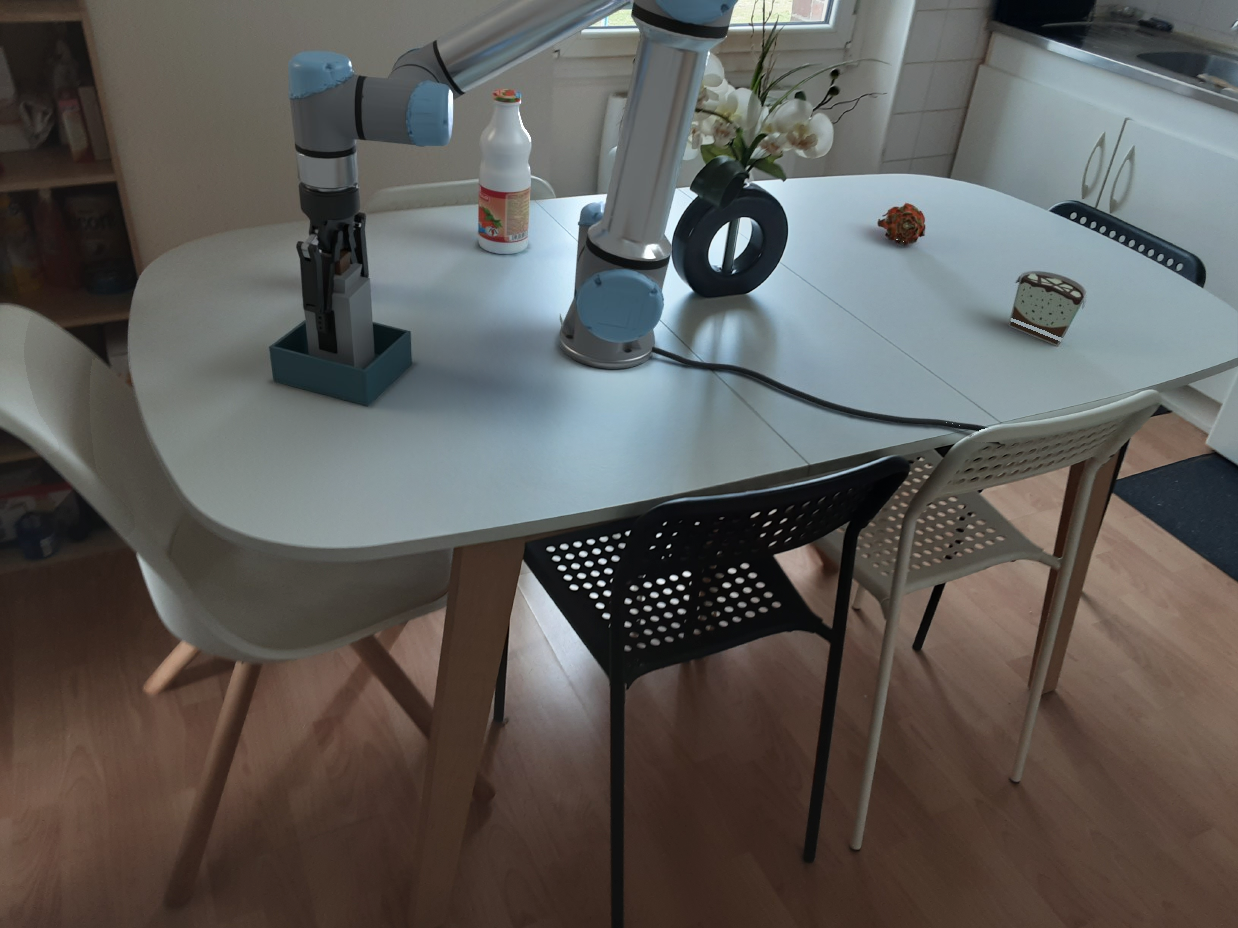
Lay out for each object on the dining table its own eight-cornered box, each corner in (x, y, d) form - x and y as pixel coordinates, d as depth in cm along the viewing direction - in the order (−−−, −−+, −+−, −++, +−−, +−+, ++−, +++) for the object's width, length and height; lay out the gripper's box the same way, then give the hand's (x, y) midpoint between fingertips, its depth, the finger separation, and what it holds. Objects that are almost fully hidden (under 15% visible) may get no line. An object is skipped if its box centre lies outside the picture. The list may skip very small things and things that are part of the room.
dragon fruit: (907, 261, 199) (881, 245, 210) (942, 237, 199) (914, 222, 209) (891, 227, 195) (865, 213, 205) (927, 202, 194) (899, 189, 205)
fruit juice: (530, 256, 180) (536, 102, 164) (478, 255, 179) (480, 99, 162) (526, 235, 188) (532, 86, 171) (476, 234, 186) (478, 83, 170)
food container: (1079, 339, 173) (1100, 288, 167) (1065, 349, 169) (1087, 298, 164) (1014, 313, 180) (1033, 263, 174) (1000, 323, 176) (1018, 272, 170)
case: (412, 364, 145) (410, 331, 142) (367, 406, 135) (365, 371, 131) (323, 341, 148) (319, 308, 145) (273, 381, 138) (268, 346, 134)
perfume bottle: (355, 384, 138) (346, 267, 127) (311, 375, 139) (298, 258, 128) (375, 362, 143) (367, 248, 133) (332, 354, 144) (321, 240, 134)
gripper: (341, 155, 133) (351, 308, 146) (259, 199, 118) (280, 363, 132) (390, 166, 131) (396, 319, 145) (314, 211, 117) (329, 376, 130)
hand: (341, 340), depth 138 cm, fingers closed on perfume bottle, 6 cm apart
